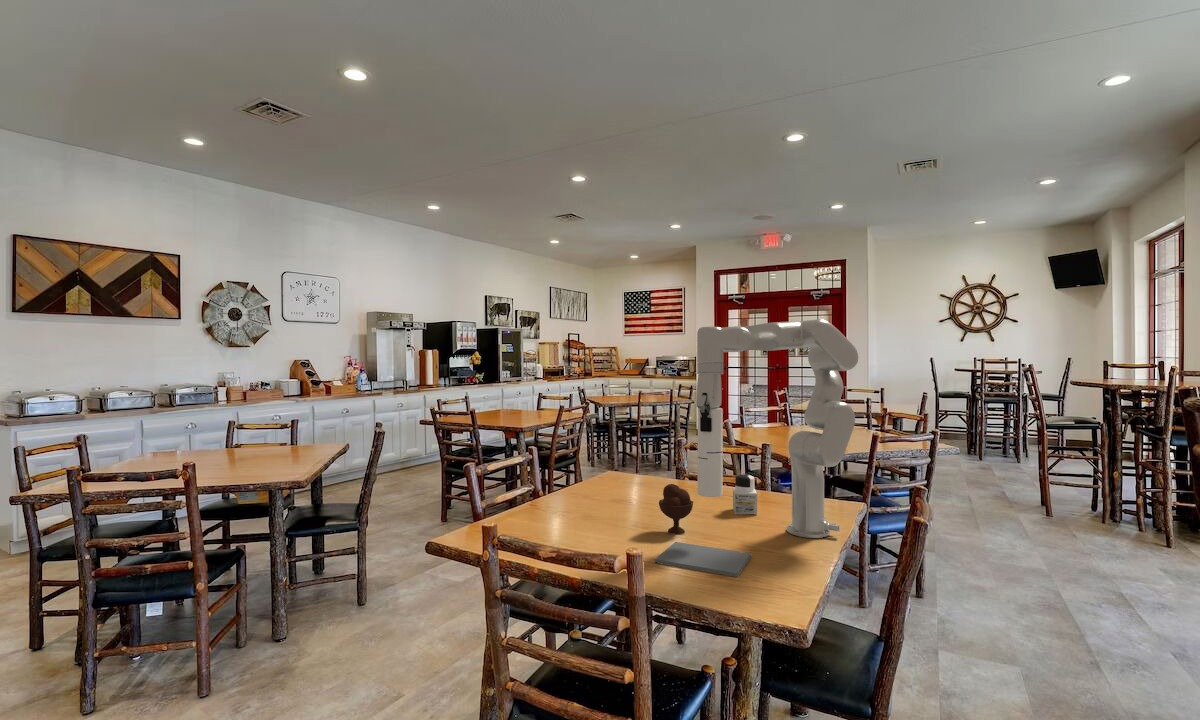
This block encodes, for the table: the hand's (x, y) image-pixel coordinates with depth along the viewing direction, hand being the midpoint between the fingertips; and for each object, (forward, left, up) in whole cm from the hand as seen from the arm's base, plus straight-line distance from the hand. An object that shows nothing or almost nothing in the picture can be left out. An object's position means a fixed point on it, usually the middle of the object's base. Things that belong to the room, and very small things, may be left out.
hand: (710, 429), depth 164 cm
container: (-1, -41, -34) cm, 53 cm away
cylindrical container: (0, 0, -19) cm, 19 cm away
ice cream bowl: (+13, -8, -34) cm, 37 cm away
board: (-2, +12, -34) cm, 36 cm away
